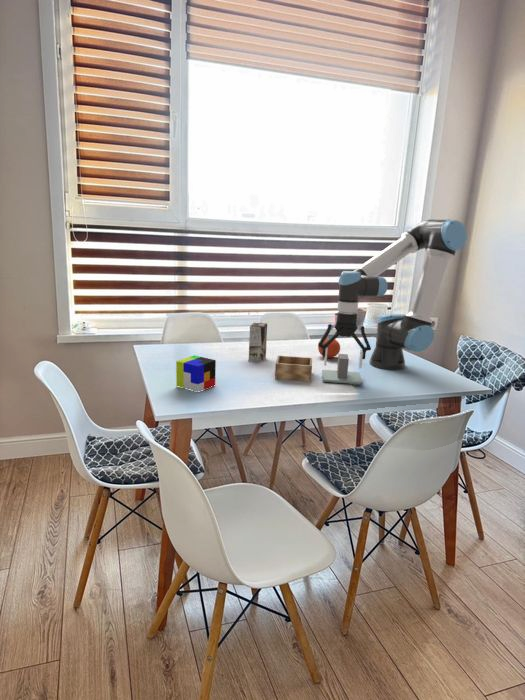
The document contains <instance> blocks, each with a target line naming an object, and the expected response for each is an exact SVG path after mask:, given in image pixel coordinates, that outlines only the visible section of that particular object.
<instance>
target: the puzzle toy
mask: <svg viewBox="0 0 525 700" xmlns="http://www.w3.org/2000/svg"><path fill="white" fill-rule="evenodd" d="M175 362H176V364H175V365H176V375H175V376H176V377H175V378H176V387H177V386H180V387H183V388H187V389H191V390H193V391H197V392H198V391H201V390H204V389H206V388H209V387H211V386H214V385H215V386H216V366H217V365H216V359H213V358H208V357H204V356H200V355H196V354H195V355H191V356H188V357H185V358H182V359H181V358H180V359H179V360H176V361H175ZM215 386H214V387H215ZM211 388H212V387H211ZM209 389H210V388H209ZM204 391H205V390H204Z"/></svg>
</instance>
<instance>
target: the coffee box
mask: <svg viewBox="0 0 525 700" xmlns="http://www.w3.org/2000/svg"><path fill="white" fill-rule="evenodd" d="M267 336H268V323H267V322H266V323H263V322H253V323H252V324H251V325H249V338H248V341H249V342H248V362H251V363H252V362H254V363H255V362H256V363H259V362H261V363H263V362H264V361H265V359H266V358H267V341H268V339H267V338H268V337H267Z"/></svg>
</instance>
